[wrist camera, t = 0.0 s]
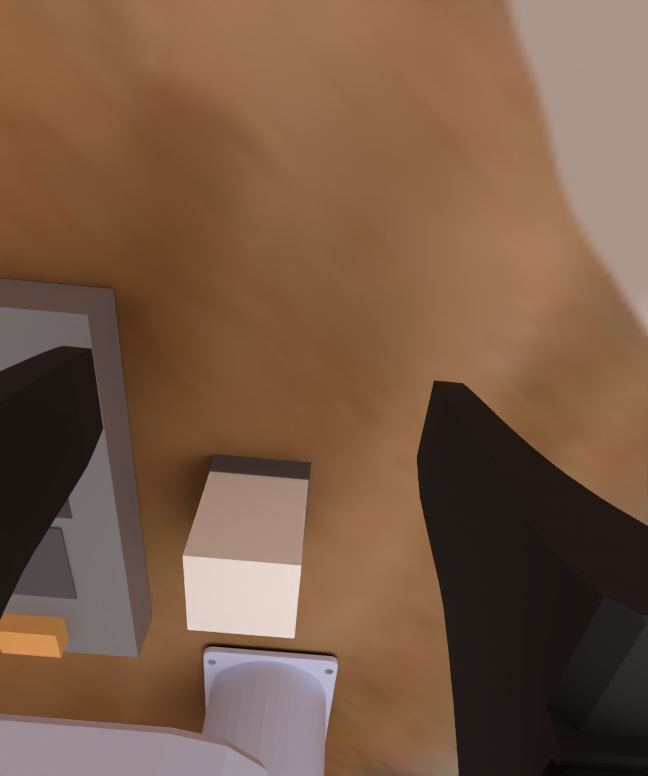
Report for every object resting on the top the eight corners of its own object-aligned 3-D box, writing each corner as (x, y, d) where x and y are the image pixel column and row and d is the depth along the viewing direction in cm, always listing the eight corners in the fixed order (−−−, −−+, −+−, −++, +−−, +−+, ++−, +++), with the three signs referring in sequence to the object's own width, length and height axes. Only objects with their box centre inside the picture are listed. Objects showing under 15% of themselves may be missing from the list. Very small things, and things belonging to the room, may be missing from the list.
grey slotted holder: (152, 616, 32) (132, 675, 29) (-24, 602, 31) (-62, 660, 28) (113, 288, 21) (75, 327, 18) (-149, 264, 21) (-230, 299, 18)
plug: (304, 531, 28) (295, 639, 23) (215, 524, 28) (186, 630, 23) (310, 462, 26) (302, 564, 20) (213, 453, 25) (181, 554, 20)
